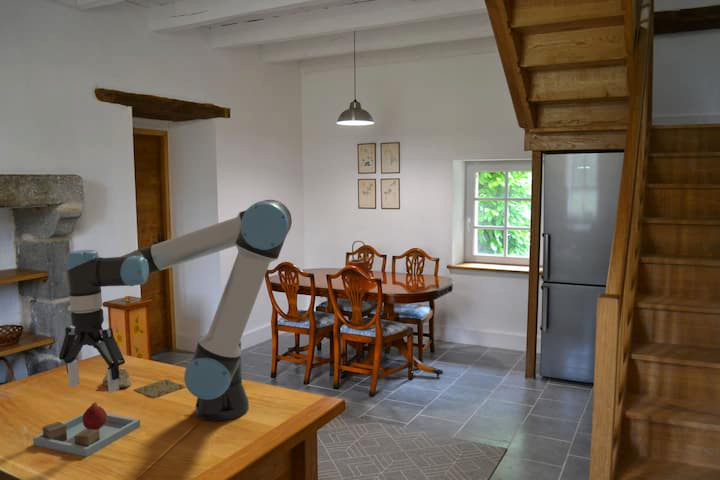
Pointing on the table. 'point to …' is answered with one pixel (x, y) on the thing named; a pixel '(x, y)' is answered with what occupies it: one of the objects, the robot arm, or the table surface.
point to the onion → (94, 417)
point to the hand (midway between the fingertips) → (94, 388)
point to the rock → (120, 379)
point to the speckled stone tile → (159, 388)
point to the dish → (107, 433)
